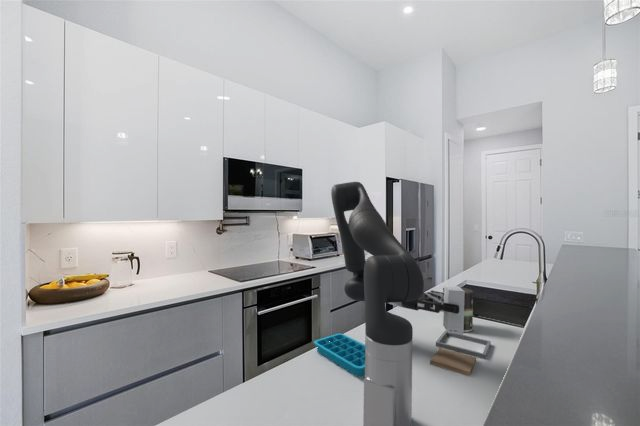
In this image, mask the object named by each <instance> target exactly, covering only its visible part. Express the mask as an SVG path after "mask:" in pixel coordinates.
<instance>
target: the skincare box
mask: <svg viewBox="0 0 640 426" xmlns="http://www.w3.org/2000/svg"><path fill="white" fill-rule="evenodd" d="M460 287H461V286H459V285H447V284H444V287H443V288H444V303H450V304H455V305H459V313H458V314H456V313H451V312H446V311H444V316H443V315H442V319H443V321H442V326H443V328H444V329H445V331H447V333H452V334H462V335H464V332H463V331H464V296H465V291H464V290H462V289H461V288H460Z"/></svg>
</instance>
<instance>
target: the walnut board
mask: <svg viewBox="0 0 640 426" xmlns="http://www.w3.org/2000/svg"><path fill="white" fill-rule="evenodd" d="M476 362H477V357H475V356H471V355H468V354H464V353H460V352H456V351H453V350H449V349H445V348H441V347H438V349H437V351H436V352H435V353H434V355H433V356H432V358H431V359H430V360H429V365H430V366H431V365H433V366H435V367H438V368H441V369H445V370H449V371H451V372H455V373H458V374H461V375H464V376H468V377H470V376H471V373H473V370H474V367H475V364H476Z"/></svg>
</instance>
